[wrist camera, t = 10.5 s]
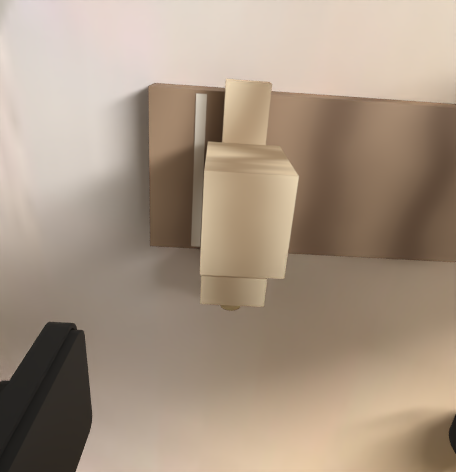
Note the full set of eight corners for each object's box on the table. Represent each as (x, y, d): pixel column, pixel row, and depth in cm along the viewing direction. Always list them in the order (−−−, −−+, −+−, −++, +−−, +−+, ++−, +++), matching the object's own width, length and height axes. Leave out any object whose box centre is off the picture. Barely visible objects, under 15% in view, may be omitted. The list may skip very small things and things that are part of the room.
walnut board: (514, 108, 26) (543, 114, 24) (466, 247, 30) (487, 264, 28) (154, 82, 25) (148, 86, 23) (155, 230, 29) (150, 246, 27)
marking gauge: (277, 80, 25) (310, 97, 16) (255, 278, 31) (270, 373, 22) (212, 75, 25) (208, 90, 16) (202, 276, 31) (195, 370, 22)
